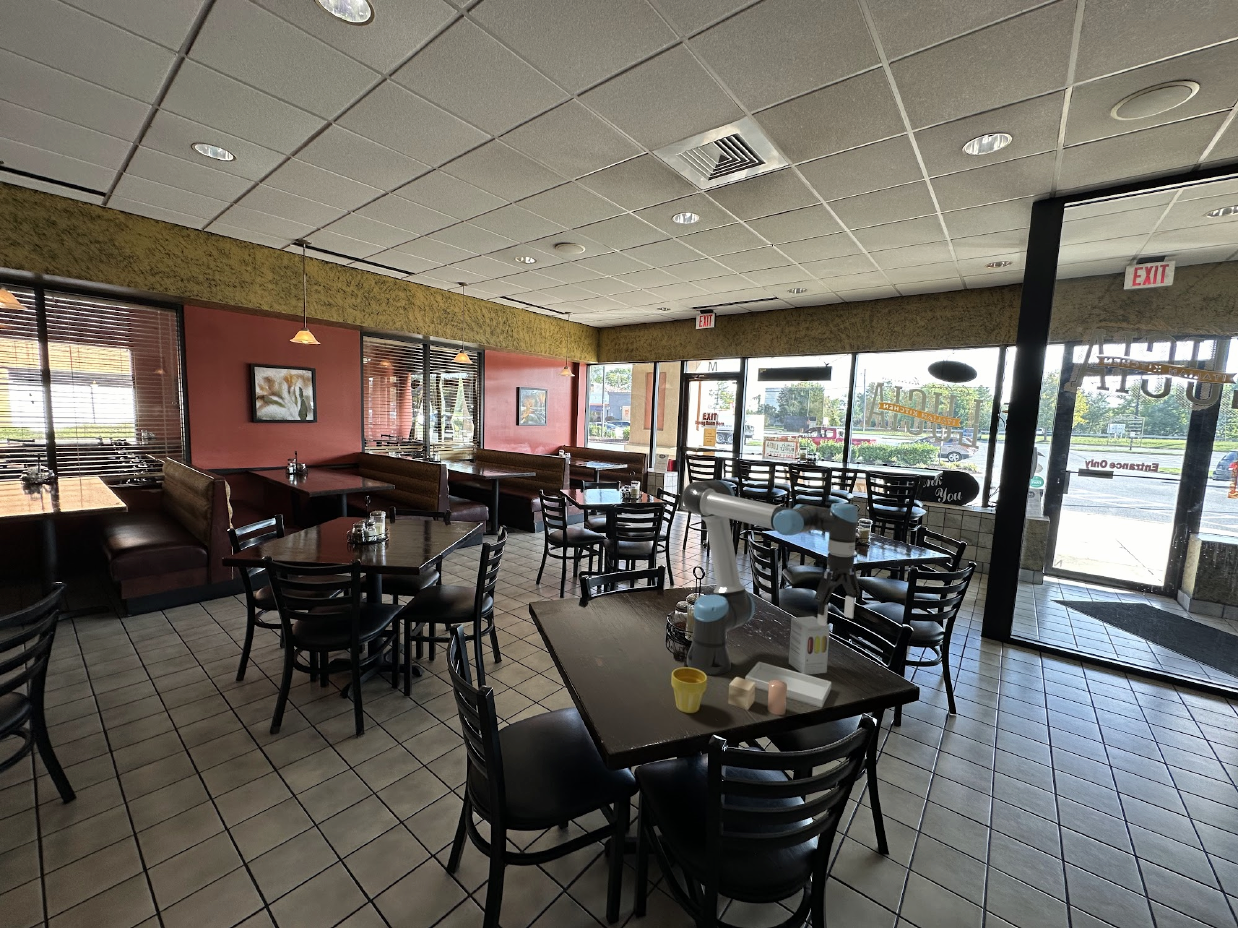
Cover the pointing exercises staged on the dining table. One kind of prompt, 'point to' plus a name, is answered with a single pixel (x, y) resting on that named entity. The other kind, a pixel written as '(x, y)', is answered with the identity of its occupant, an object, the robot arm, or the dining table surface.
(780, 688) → the terracotta cylinder
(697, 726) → the dining table surface
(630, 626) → the dining table surface
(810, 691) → the tray
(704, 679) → the plant pot
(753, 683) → the maple cube
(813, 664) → the supplement box
